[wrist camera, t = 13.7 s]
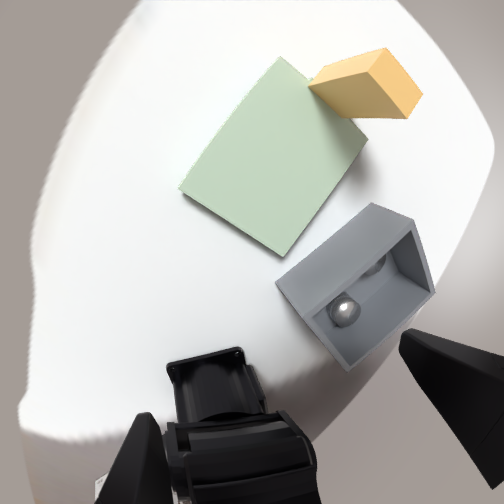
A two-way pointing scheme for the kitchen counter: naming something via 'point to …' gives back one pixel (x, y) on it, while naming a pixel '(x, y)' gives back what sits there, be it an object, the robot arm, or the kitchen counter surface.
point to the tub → (362, 282)
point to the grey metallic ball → (343, 310)
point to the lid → (295, 143)
